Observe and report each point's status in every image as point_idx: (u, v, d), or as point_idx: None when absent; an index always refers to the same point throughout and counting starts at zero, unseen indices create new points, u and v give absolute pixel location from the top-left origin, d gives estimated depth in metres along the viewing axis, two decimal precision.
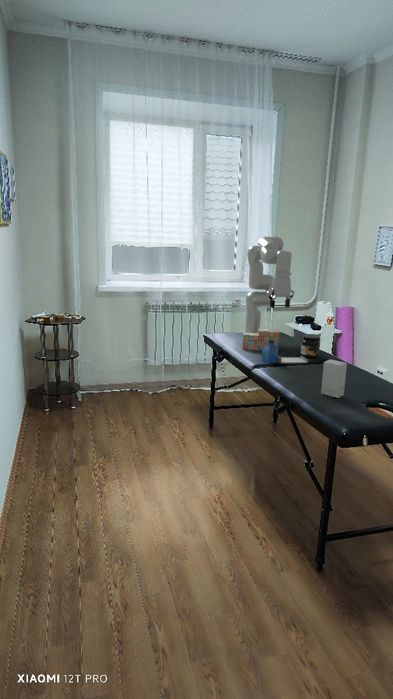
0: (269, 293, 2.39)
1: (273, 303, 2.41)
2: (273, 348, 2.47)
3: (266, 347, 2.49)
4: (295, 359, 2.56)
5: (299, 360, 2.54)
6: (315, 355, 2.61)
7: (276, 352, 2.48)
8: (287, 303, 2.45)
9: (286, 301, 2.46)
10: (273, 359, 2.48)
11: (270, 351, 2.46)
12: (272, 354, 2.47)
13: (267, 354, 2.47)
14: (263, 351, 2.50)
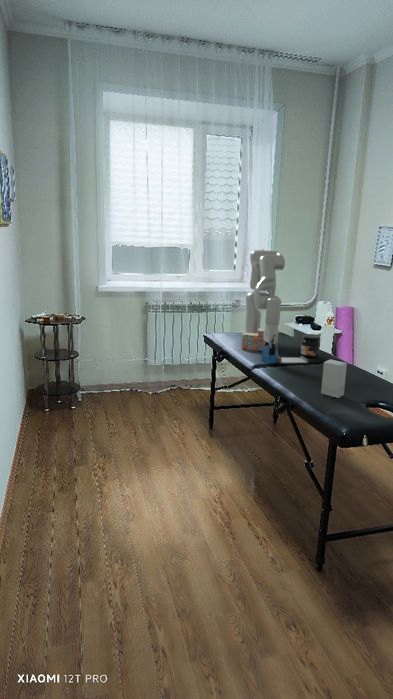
0: None
1: (274, 350, 2.45)
2: None
3: (266, 347, 2.49)
4: (295, 359, 2.56)
5: (299, 360, 2.54)
6: (315, 355, 2.61)
7: (276, 352, 2.48)
8: None
9: None
10: (273, 359, 2.48)
11: None
12: None
13: (267, 354, 2.47)
14: (263, 351, 2.50)
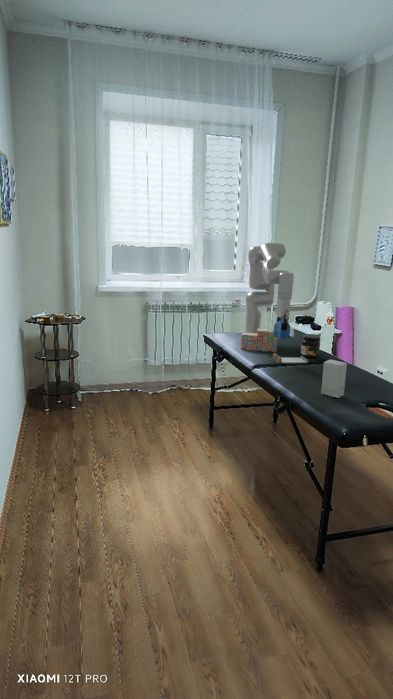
0: None
1: (286, 325, 2.44)
2: None
3: (278, 322, 2.47)
4: (295, 359, 2.56)
5: (299, 360, 2.54)
6: (315, 355, 2.61)
7: (288, 327, 2.47)
8: None
9: None
10: (285, 335, 2.47)
11: None
12: None
13: (279, 329, 2.46)
14: (275, 326, 2.49)
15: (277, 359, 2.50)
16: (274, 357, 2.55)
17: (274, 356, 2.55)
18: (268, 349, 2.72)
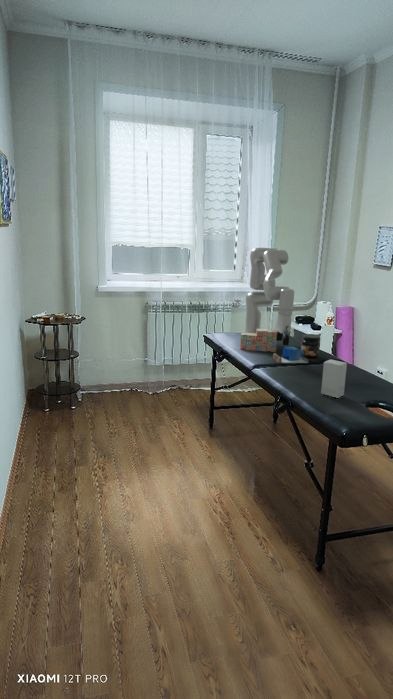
0: None
1: (288, 340, 2.46)
2: (300, 354, 2.55)
3: None
4: None
5: (299, 360, 2.54)
6: (315, 355, 2.61)
7: (297, 357, 2.54)
8: (280, 337, 2.55)
9: (279, 335, 2.54)
10: (291, 355, 2.52)
11: (299, 351, 2.54)
12: (296, 353, 2.53)
13: (295, 348, 2.54)
14: (292, 347, 2.57)
15: (277, 359, 2.50)
16: (274, 357, 2.55)
17: (274, 356, 2.55)
18: (267, 349, 2.72)
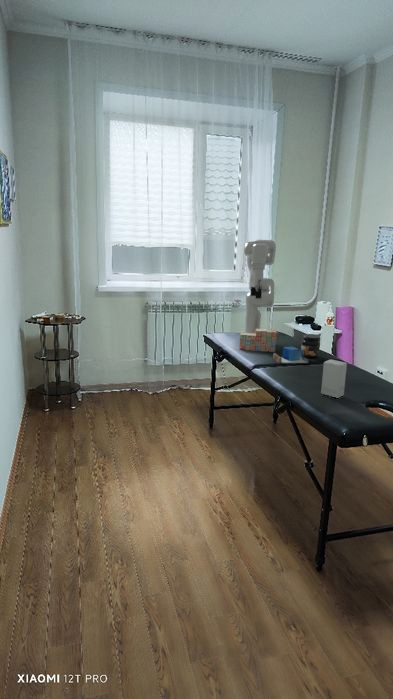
0: None
1: (260, 294, 2.56)
2: (300, 354, 2.55)
3: None
4: None
5: (299, 360, 2.54)
6: (315, 355, 2.61)
7: (297, 357, 2.54)
8: (254, 292, 2.65)
9: (253, 290, 2.64)
10: (291, 355, 2.52)
11: (299, 351, 2.54)
12: (296, 353, 2.53)
13: (295, 348, 2.54)
14: (292, 347, 2.57)
15: (277, 359, 2.50)
16: (274, 357, 2.55)
17: (274, 356, 2.55)
18: (266, 349, 2.72)
